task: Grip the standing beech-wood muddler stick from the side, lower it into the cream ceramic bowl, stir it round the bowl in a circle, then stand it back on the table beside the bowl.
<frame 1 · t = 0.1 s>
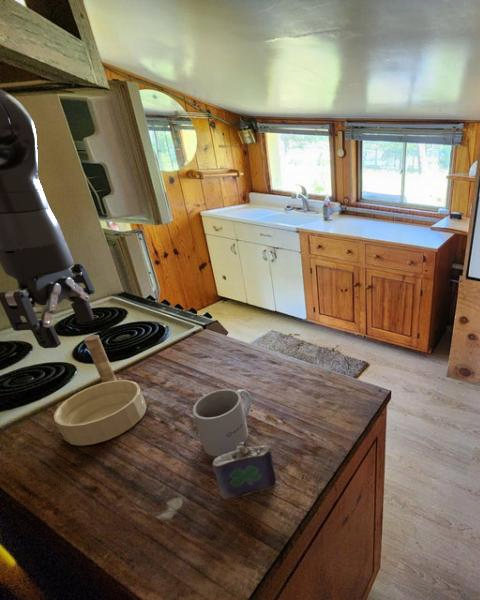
hand: (70, 333, 55), 27 cm above the counter, tool pointing down, fingers open, 8 cm apart
mug: (234, 433, 71), on the counter
bowl: (108, 421, 73), on the counter
stick: (111, 386, 83), on the counter
flask: (250, 488, 60), on the counter
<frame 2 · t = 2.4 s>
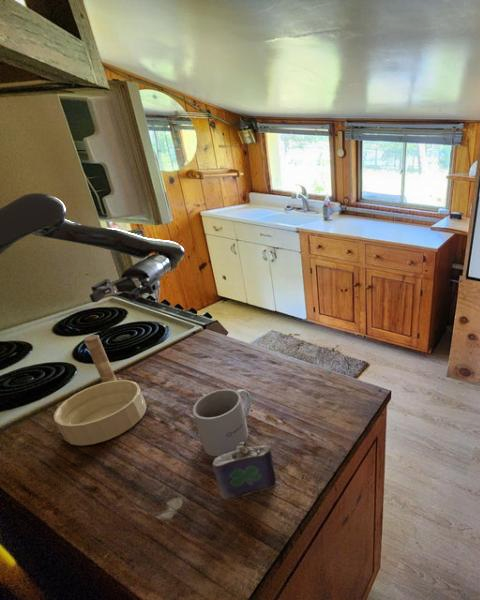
hand: (111, 298, 84), 20 cm above the counter, tool horizontal, fingers open, 8 cm apart
nothing on the counter moved.
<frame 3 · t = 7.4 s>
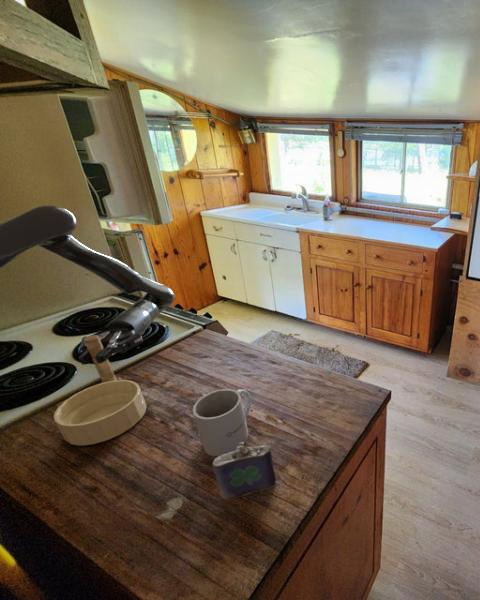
hand: (90, 360, 76), 10 cm above the counter, tool horizontal, fingers closed on stick, 2 cm apart
stick: (111, 386, 83), on the counter, touching gripper
everything else where it was.
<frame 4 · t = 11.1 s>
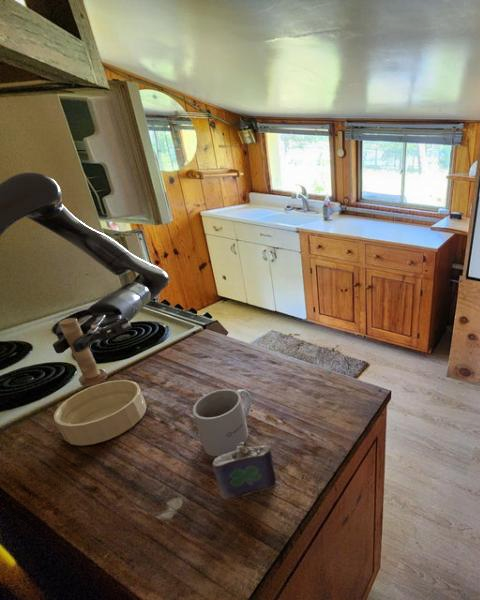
hand: (66, 348, 64), 20 cm above the counter, tool horizontal, fingers closed on stick, 2 cm apart
stick: (94, 379, 70), point 10 cm above the counter, touching gripper
everything else where it was.
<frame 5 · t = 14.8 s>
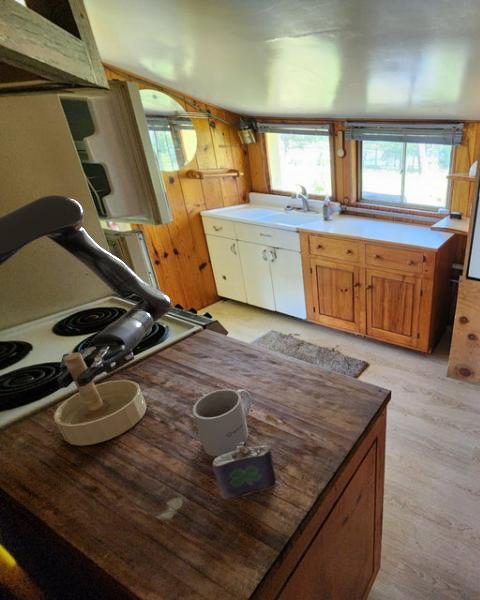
hand: (71, 383, 65), 13 cm above the counter, tool horizontal, fingers closed on stick, 2 cm apart
stick: (97, 411, 72), point 3 cm above the counter, touching gripper
everything else where it was.
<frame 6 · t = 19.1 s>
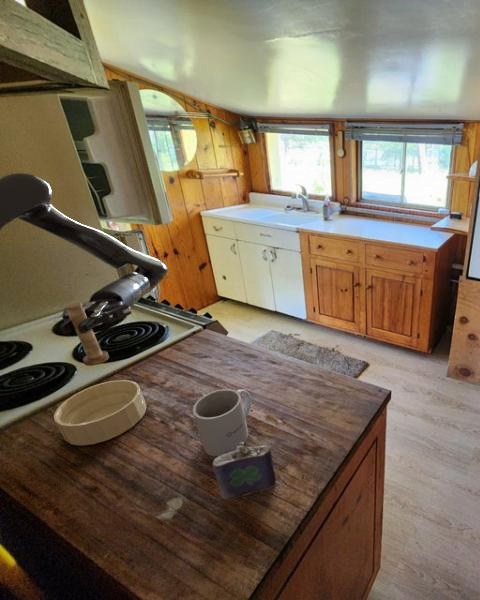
hand: (72, 330, 70), 20 cm above the counter, tool horizontal, fingers closed on stick, 2 cm apart
stick: (97, 360, 77), point 10 cm above the counter, touching gripper
everything else where it was.
when the fingers open (10 cm above the counter, at t = 22.4 s): stick stays where it is, on the counter.
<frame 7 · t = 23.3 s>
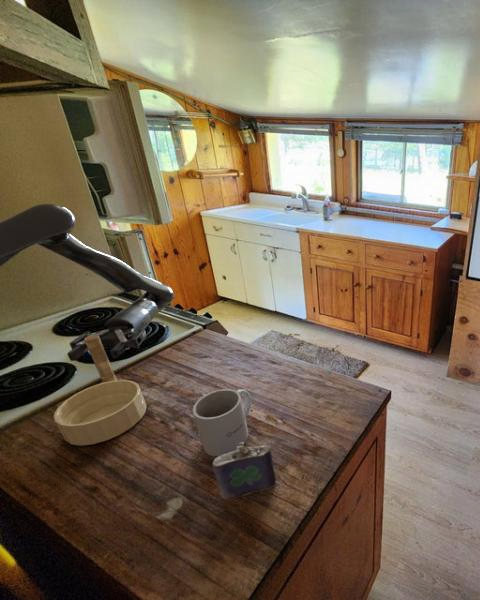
hand: (92, 356, 77), 11 cm above the counter, tool horizontal, fingers open, 8 cm apart
stick: (112, 386, 83), on the counter
everything else where it was.
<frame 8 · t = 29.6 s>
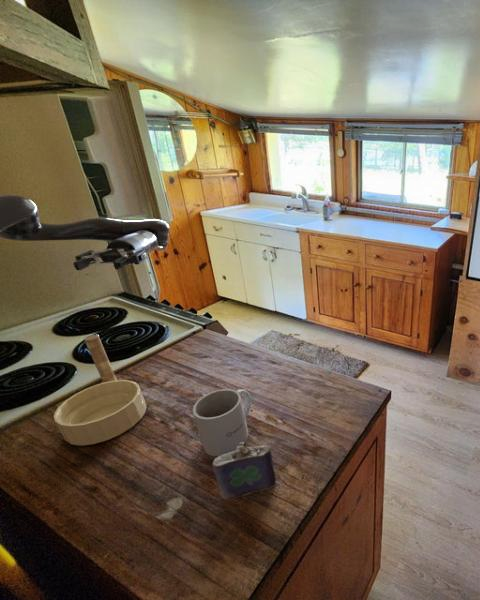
hand: (96, 266, 82), 28 cm above the counter, tool horizontal, fingers open, 8 cm apart
nothing on the counter moved.
at the end: stick inside the target area (0.1 cm from its centre), on the counter; stick tilted 0°; the gripper is holding nothing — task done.
